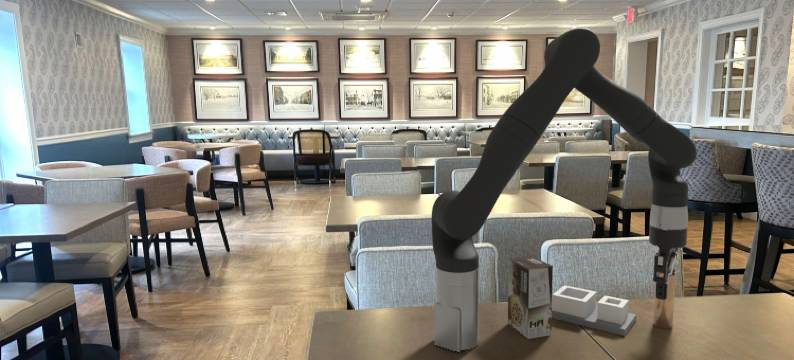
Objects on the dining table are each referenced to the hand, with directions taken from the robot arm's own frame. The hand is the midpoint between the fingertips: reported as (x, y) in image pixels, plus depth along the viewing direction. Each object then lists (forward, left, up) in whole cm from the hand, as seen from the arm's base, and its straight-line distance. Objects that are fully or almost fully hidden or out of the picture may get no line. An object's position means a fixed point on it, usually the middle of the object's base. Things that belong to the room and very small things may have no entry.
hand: (665, 292), depth 116 cm
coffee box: (-20, +24, -8) cm, 32 cm away
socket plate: (-6, +14, -8) cm, 17 cm away
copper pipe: (0, 0, -8) cm, 8 cm away
